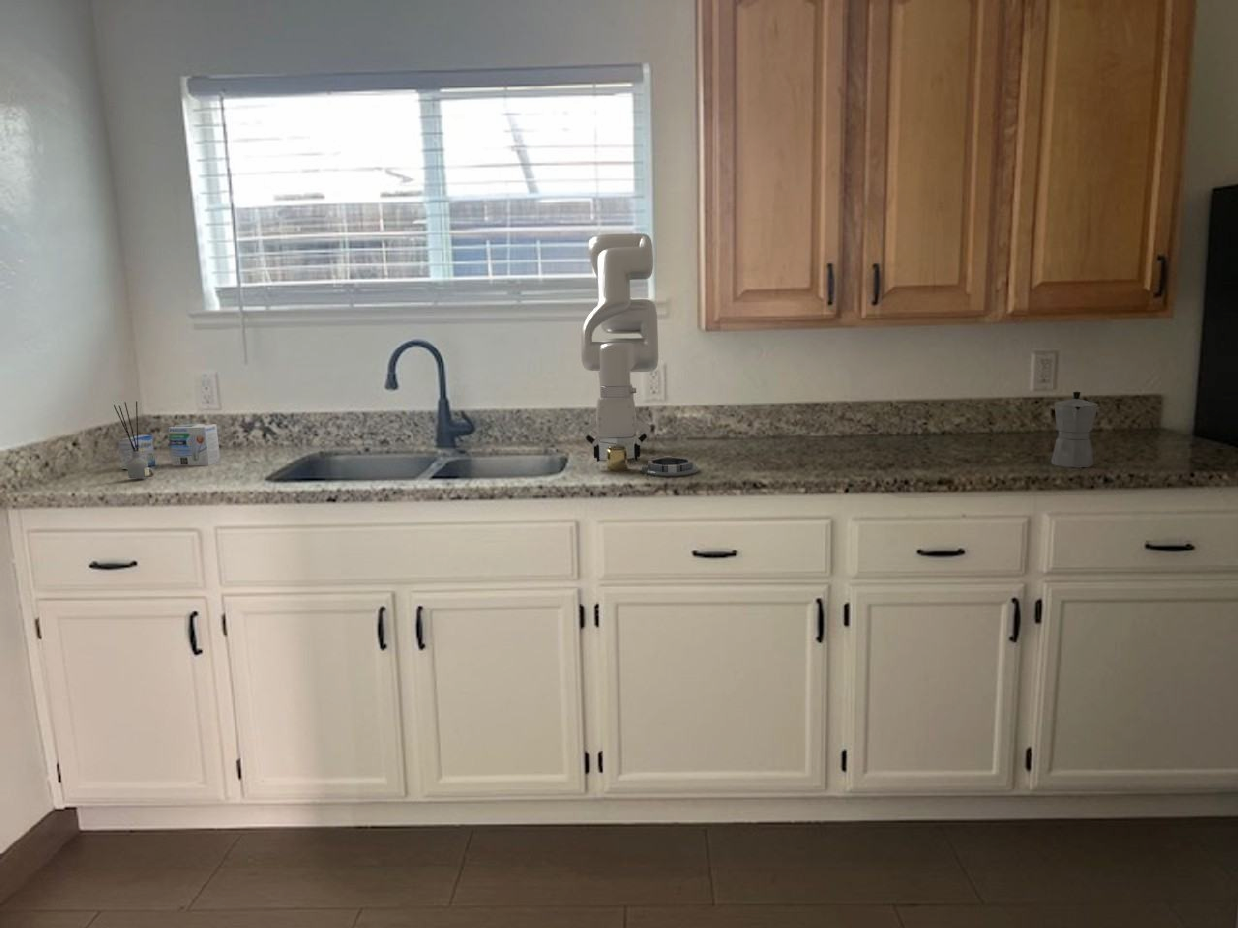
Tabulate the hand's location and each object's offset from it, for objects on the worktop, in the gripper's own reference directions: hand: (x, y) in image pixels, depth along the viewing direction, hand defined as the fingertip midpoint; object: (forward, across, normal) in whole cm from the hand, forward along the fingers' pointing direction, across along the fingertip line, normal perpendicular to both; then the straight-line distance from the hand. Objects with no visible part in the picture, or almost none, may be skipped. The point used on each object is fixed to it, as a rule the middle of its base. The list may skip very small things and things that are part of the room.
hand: (617, 460), depth 223 cm
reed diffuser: (+3, +123, -6) cm, 123 cm away
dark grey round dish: (+2, -13, +4) cm, 14 cm away
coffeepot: (+3, -112, +8) cm, 112 cm away
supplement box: (+2, 0, -16) cm, 16 cm away
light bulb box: (+2, +117, -27) cm, 120 cm away
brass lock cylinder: (+2, 0, -1) cm, 2 cm away
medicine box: (+2, +131, -23) cm, 133 cm away
